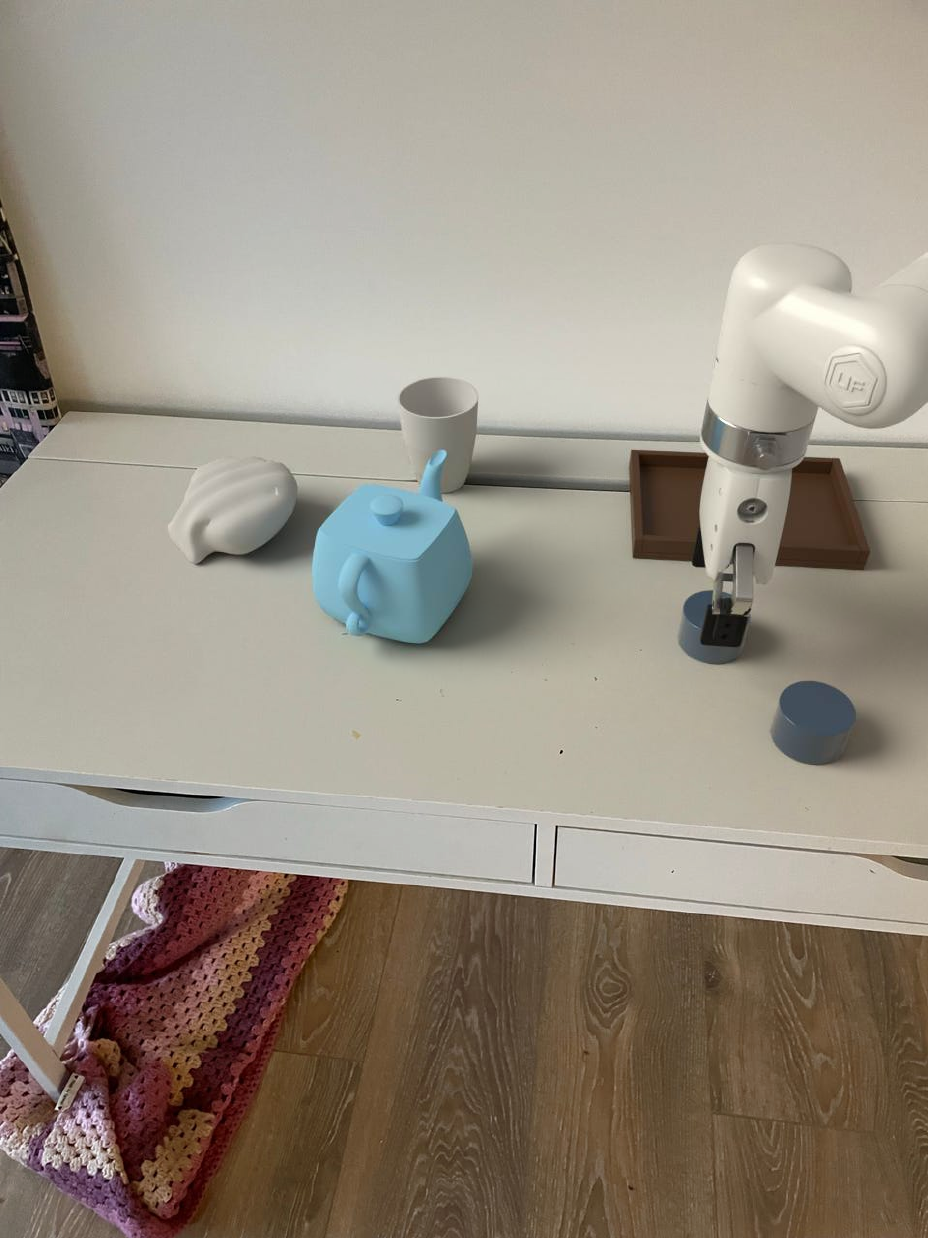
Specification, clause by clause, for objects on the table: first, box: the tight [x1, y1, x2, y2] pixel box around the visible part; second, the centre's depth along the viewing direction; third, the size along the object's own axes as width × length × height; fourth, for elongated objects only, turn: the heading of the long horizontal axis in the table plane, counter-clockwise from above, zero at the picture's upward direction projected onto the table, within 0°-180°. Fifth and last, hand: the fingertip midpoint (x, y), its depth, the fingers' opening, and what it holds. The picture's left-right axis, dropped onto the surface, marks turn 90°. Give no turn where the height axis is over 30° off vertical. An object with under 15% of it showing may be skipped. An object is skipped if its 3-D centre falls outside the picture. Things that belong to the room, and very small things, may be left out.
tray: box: [628, 449, 871, 571], centre depth 94 cm, size 22×16×2 cm
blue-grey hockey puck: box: [770, 680, 857, 766], centre depth 72 cm, size 6×6×4 cm
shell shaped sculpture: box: [167, 456, 298, 565], centre depth 93 cm, size 13×13×6 cm
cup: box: [396, 376, 479, 494], centre depth 97 cm, size 8×8×10 cm
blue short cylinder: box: [677, 589, 752, 665], centre depth 81 cm, size 6×6×4 cm
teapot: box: [311, 450, 473, 644], centre depth 83 cm, size 12×18×12 cm
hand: (714, 603), depth 79 cm, fingers open, 9 cm apart
